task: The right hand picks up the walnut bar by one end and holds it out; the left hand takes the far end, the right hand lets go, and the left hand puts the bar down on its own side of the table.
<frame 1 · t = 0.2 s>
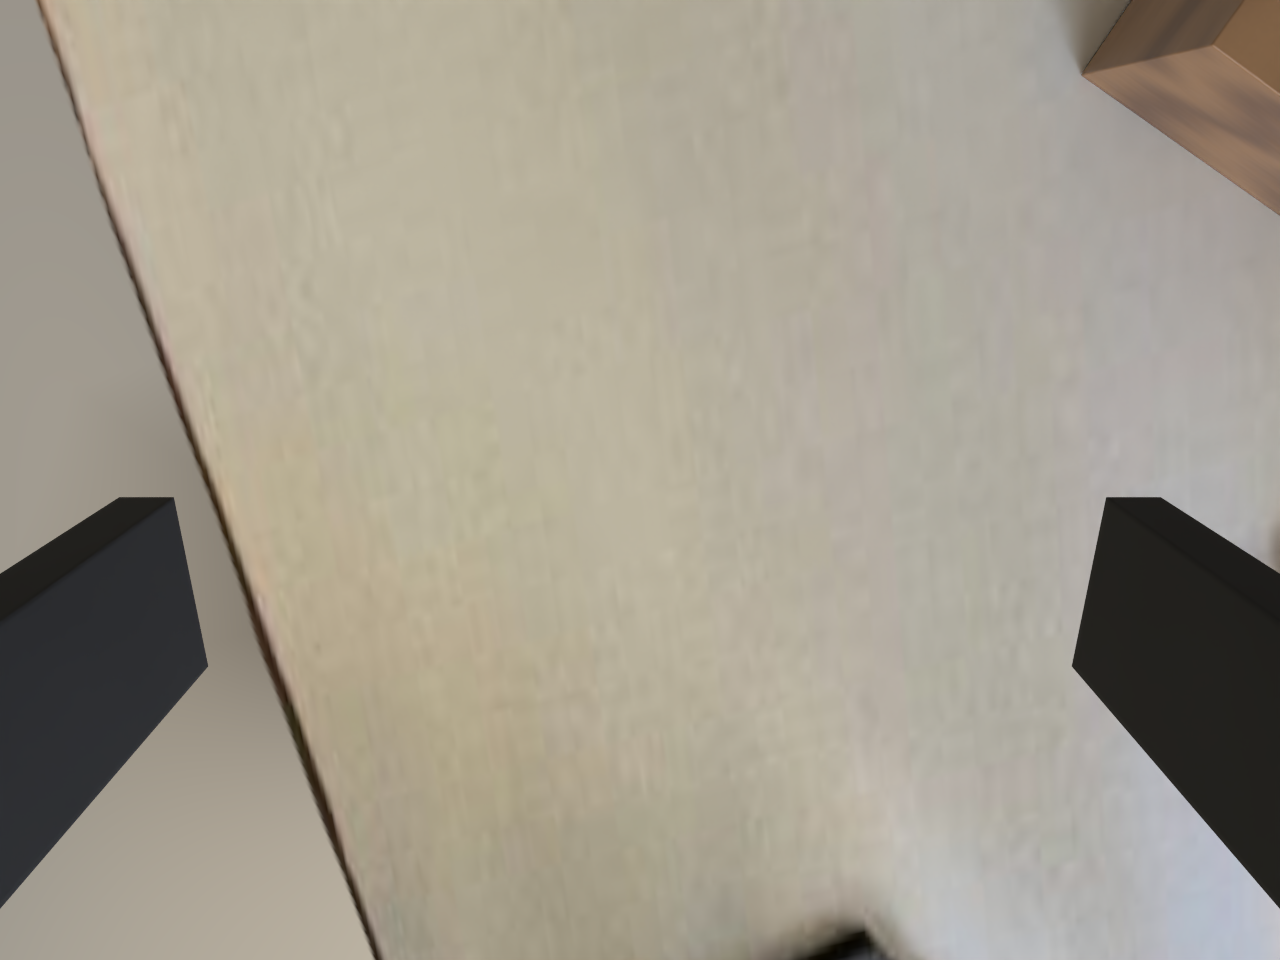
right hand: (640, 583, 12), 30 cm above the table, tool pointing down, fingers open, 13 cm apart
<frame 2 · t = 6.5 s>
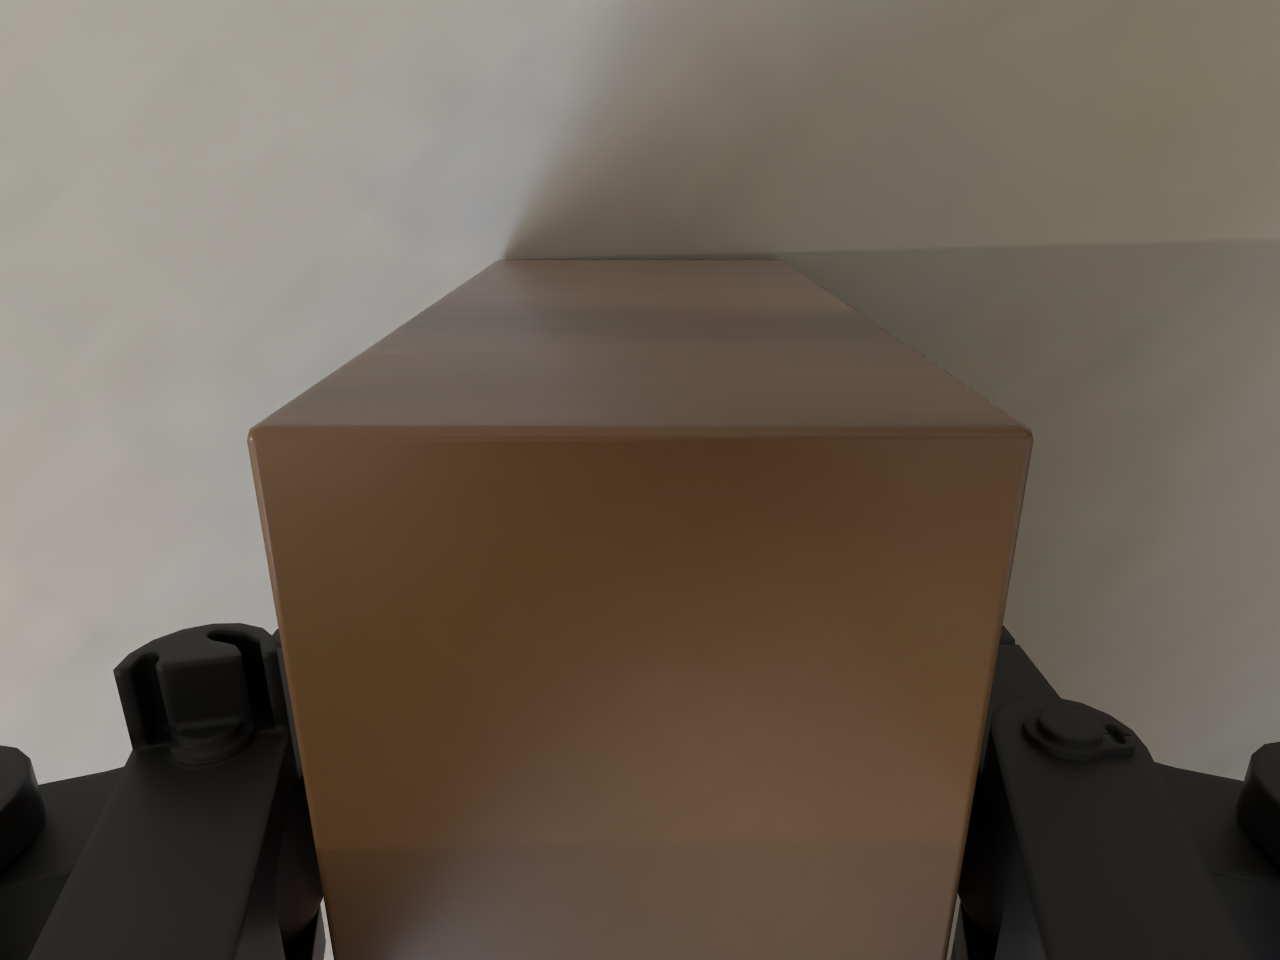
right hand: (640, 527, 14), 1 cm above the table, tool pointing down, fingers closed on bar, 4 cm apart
bar: (640, 837, 17), on the table, touching right hand
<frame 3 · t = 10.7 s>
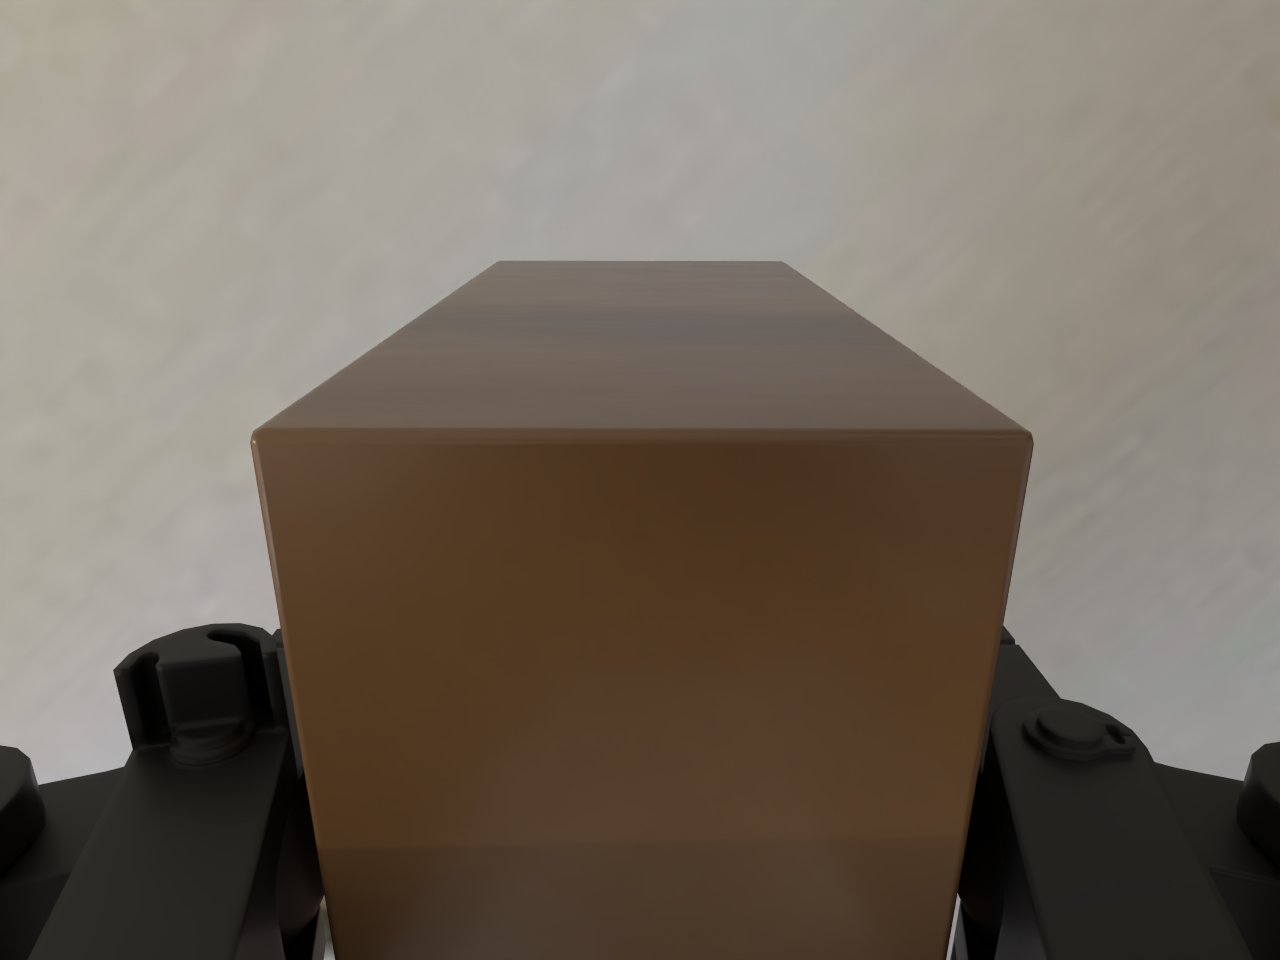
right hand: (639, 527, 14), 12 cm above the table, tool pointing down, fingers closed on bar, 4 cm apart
bar: (639, 837, 17), point 12 cm above the table, touching right hand, left hand
when the right hand's fingers open (12 cm above the table, at t = 11.6 s): bar stays where it is, held by the left hand.
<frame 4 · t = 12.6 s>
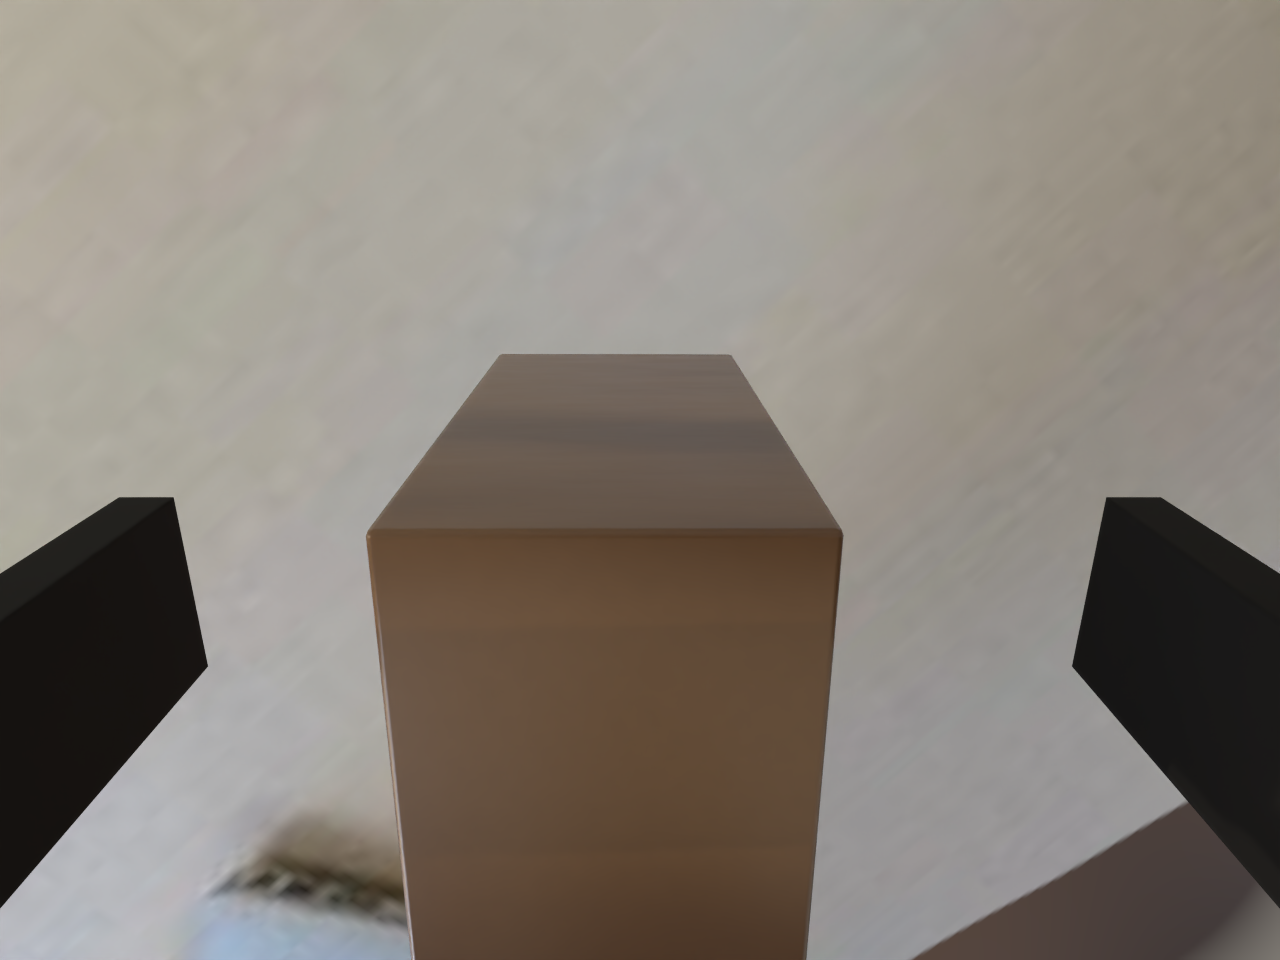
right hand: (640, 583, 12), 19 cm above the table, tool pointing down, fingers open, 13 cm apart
bar: (618, 830, 20), point 13 cm above the table, touching left hand
when the left hand's fingers open (5 cm above the table, at t = 21.9 s): bar drops 1 cm, on the table.
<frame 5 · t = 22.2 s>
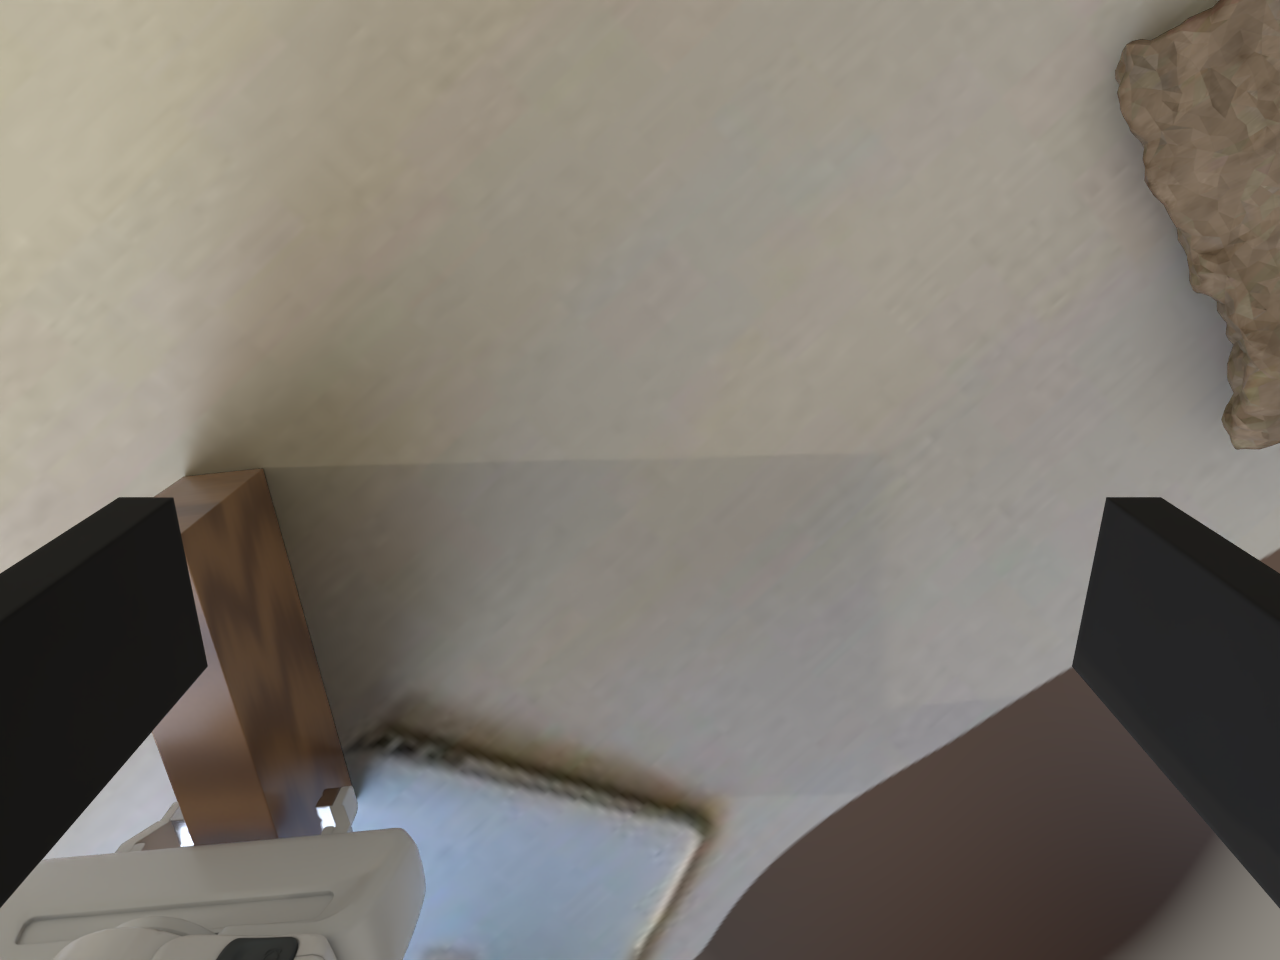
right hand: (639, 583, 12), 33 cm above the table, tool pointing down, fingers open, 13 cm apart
left hand: (268, 802, 48), fingers open, 7 cm apart
bar: (276, 650, 51), on the table
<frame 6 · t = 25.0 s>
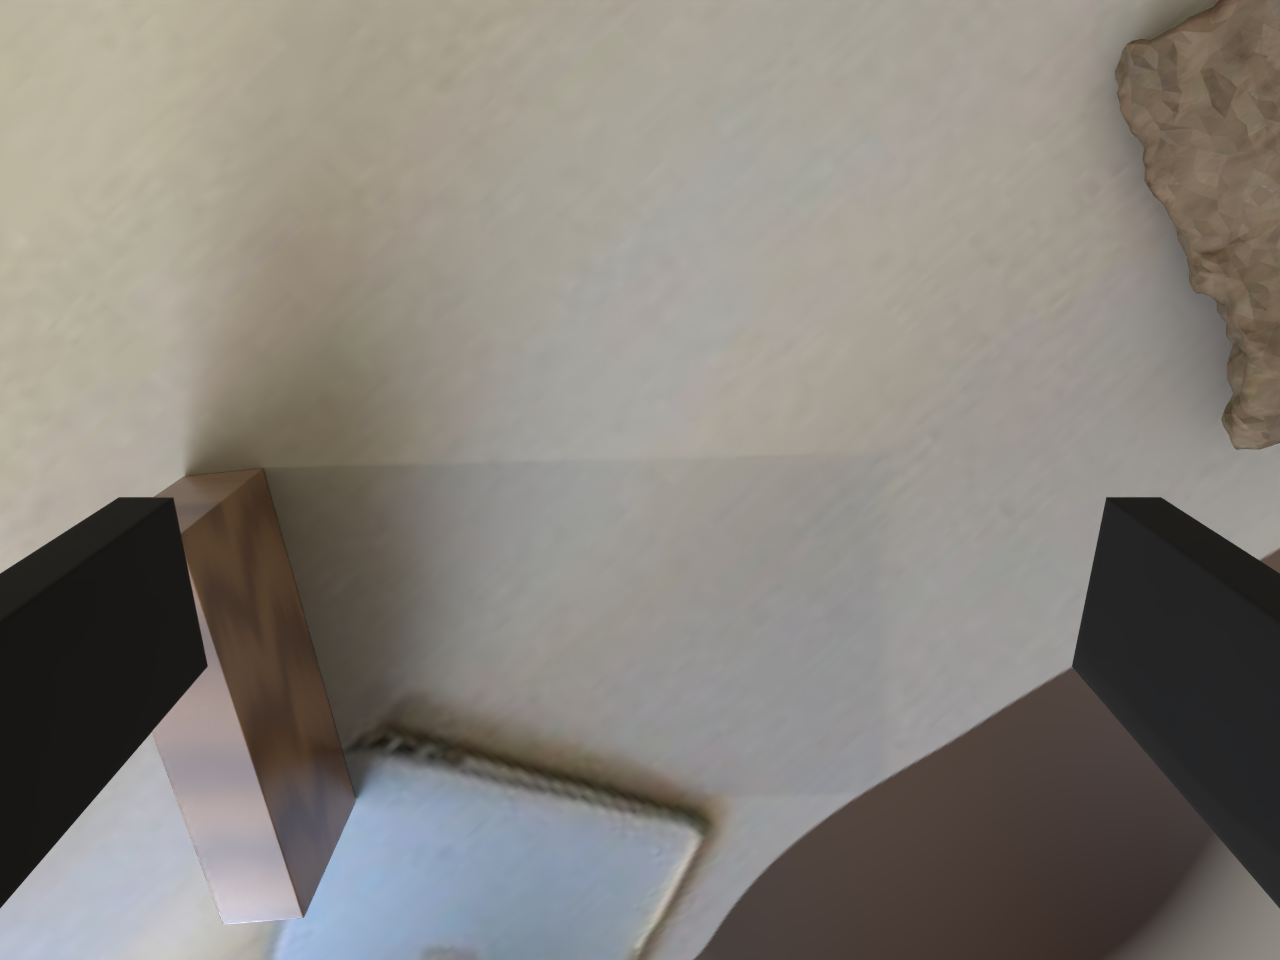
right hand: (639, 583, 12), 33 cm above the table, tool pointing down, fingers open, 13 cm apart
bar: (276, 650, 51), on the table
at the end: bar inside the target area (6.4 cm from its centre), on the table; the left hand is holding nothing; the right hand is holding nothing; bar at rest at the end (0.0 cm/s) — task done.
